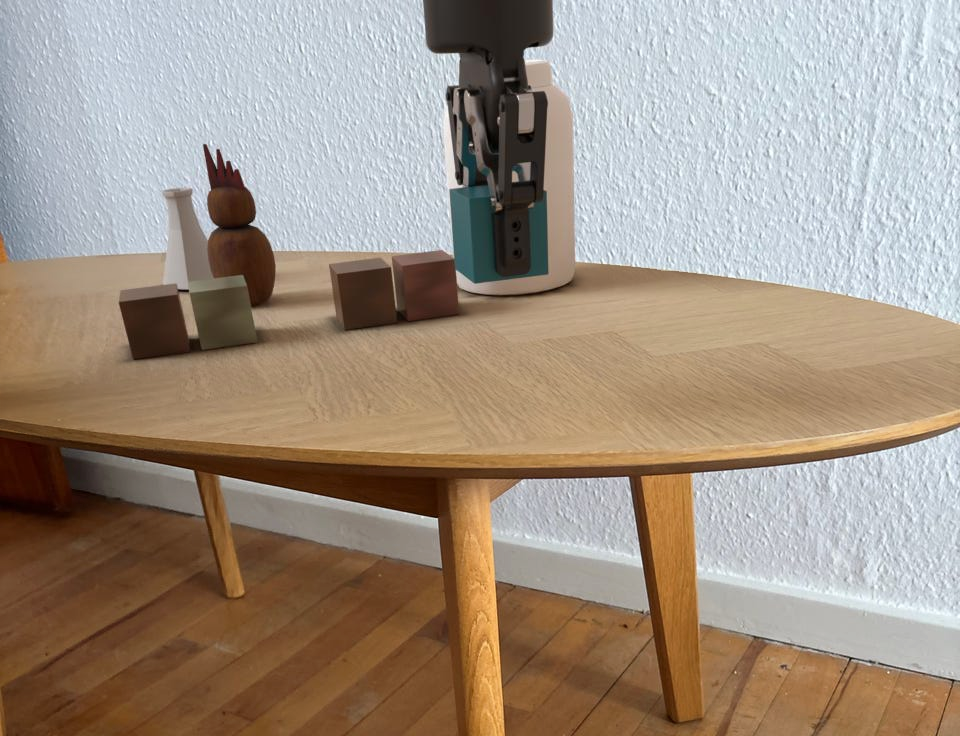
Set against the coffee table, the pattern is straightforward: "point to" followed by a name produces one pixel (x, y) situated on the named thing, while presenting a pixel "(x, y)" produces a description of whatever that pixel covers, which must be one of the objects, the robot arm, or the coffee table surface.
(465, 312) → the coffee table surface
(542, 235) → the teal block
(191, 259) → the flask
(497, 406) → the coffee table surface
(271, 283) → the wooden figurine
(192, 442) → the coffee table surface
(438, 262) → the block row
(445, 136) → the white jar
